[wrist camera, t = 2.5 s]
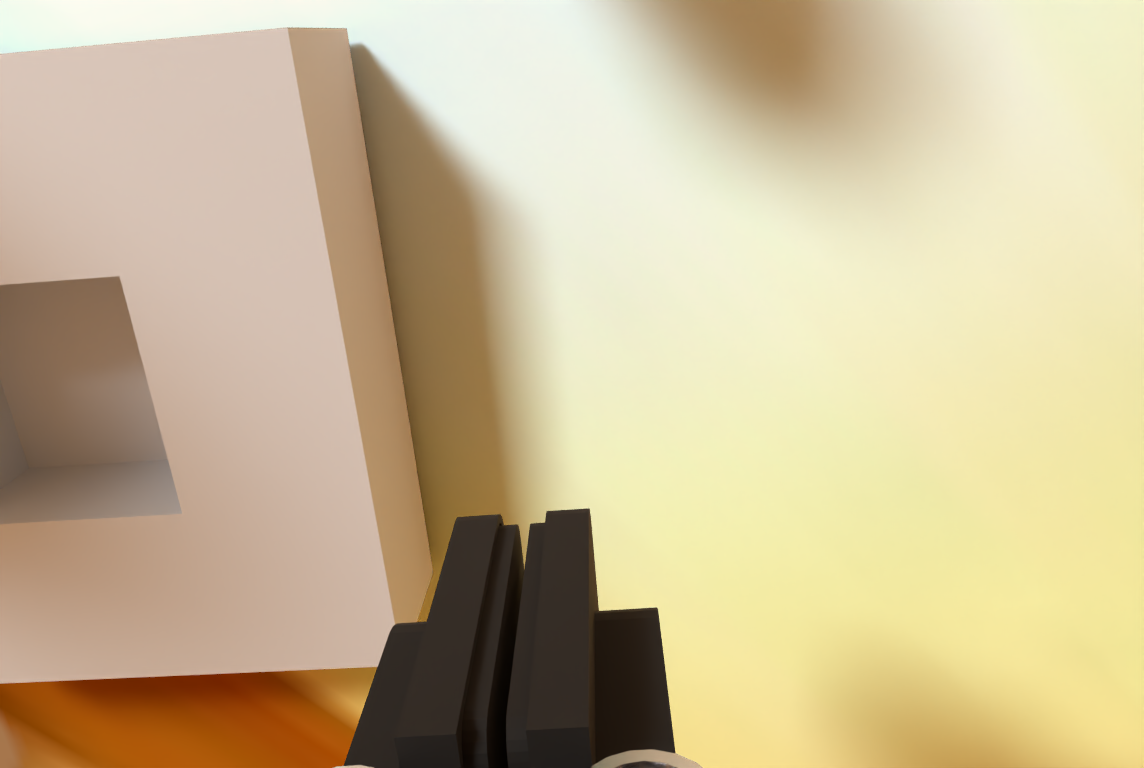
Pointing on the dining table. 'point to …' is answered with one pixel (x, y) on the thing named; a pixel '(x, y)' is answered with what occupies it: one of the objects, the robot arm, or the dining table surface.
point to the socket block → (197, 366)
